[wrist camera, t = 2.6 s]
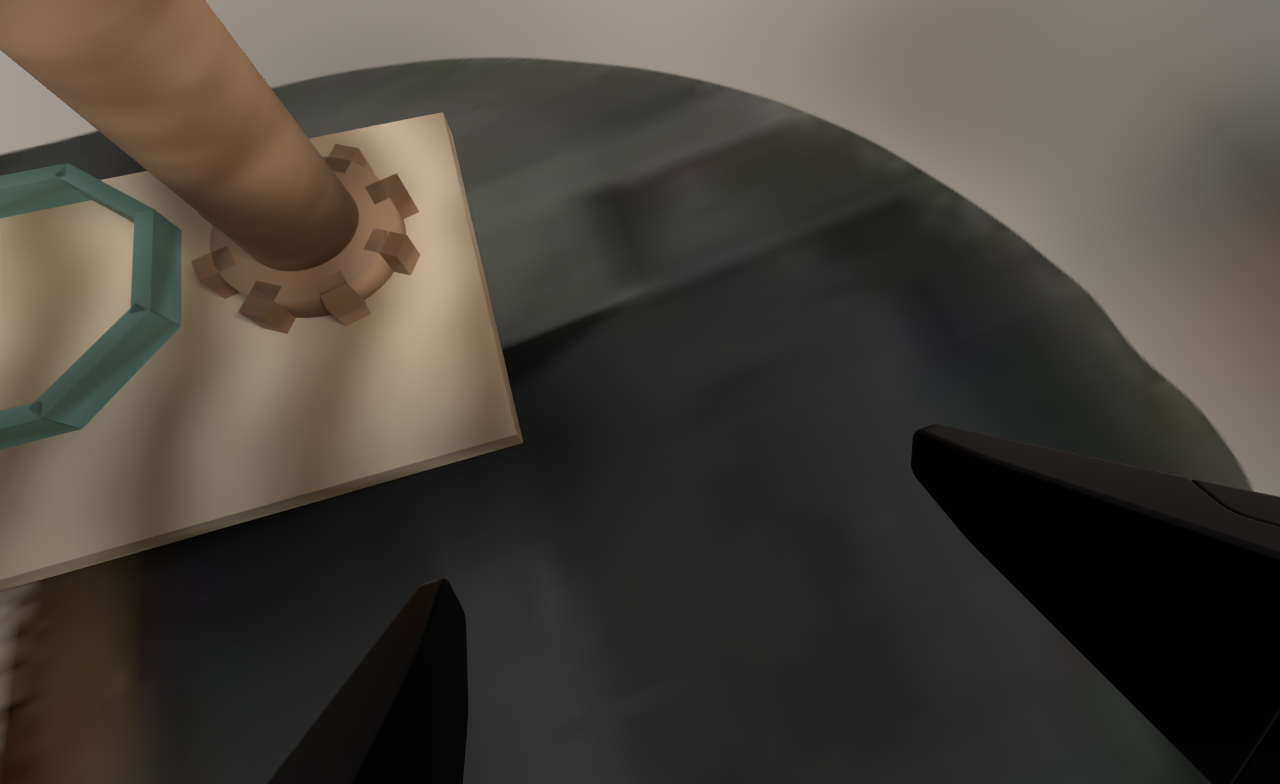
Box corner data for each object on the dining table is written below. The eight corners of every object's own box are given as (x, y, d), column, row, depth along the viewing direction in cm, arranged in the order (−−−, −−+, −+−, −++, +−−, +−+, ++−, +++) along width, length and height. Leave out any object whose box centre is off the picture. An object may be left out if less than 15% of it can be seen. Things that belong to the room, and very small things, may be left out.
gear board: (-161, 637, 19) (-299, 649, 16) (-77, 242, 25) (-167, 201, 22) (523, 442, 22) (507, 424, 19) (452, 134, 28) (432, 86, 25)
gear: (254, 370, 21) (-129, 171, 11) (193, 216, 24) (-164, -70, 13) (455, 273, 23) (304, 20, 12) (378, 140, 26) (199, -164, 15)
